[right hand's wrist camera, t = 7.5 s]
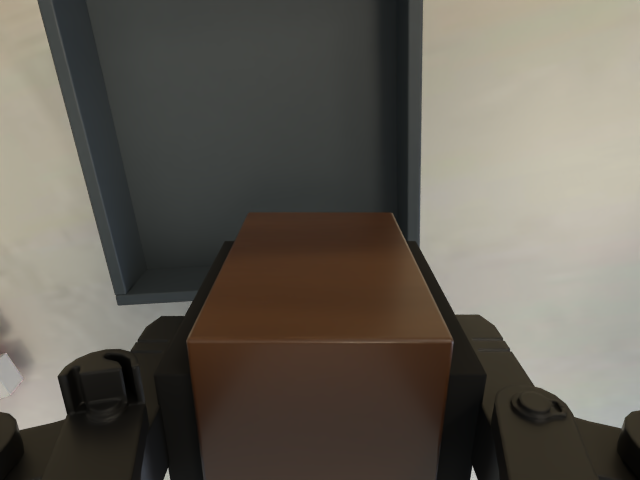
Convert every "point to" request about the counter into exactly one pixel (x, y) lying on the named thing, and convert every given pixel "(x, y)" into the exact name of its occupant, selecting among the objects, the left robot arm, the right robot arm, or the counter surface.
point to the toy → (8, 376)
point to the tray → (234, 121)
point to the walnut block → (320, 354)
